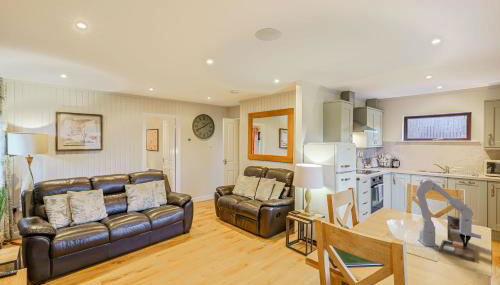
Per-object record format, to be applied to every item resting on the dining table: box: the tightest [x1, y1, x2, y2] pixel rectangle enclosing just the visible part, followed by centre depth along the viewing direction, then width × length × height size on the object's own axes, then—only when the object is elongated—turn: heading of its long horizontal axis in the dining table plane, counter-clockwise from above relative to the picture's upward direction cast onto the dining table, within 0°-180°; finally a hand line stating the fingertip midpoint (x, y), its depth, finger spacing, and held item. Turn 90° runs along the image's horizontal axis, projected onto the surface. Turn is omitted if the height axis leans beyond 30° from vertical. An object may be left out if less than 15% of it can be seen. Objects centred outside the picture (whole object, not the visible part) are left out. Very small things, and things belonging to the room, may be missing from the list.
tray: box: [438, 239, 456, 256], centre depth 156 cm, size 7×18×2 cm, turn 136°
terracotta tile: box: [452, 241, 463, 248], centre depth 156 cm, size 5×5×2 cm
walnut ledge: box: [453, 244, 476, 262], centre depth 150 cm, size 9×20×2 cm, turn 135°
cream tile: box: [443, 245, 454, 252], centre depth 153 cm, size 5×5×2 cm
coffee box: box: [447, 215, 463, 243], centre depth 168 cm, size 9×6×16 cm
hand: (465, 246), depth 153 cm, fingers closed
